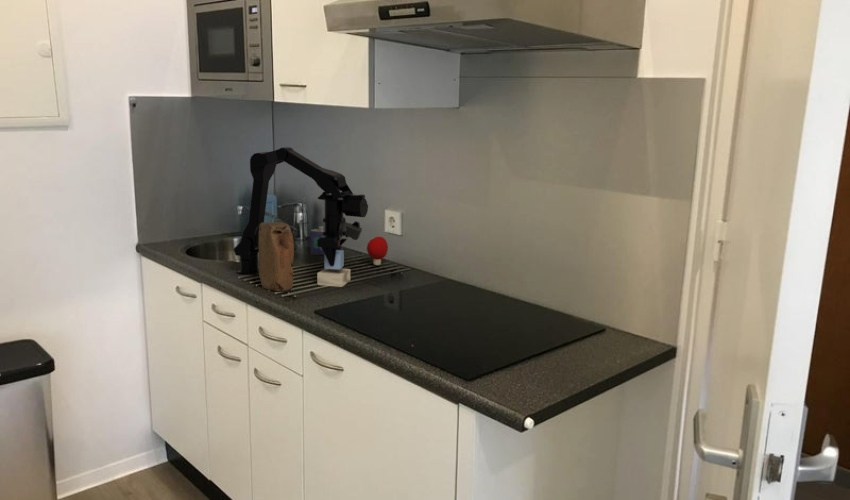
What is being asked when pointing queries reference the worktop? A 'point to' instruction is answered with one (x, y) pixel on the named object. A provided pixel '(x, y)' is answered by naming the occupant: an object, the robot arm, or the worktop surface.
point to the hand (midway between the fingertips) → (333, 263)
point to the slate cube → (338, 260)
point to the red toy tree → (377, 249)
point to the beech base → (333, 277)
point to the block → (276, 256)
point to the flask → (313, 241)
